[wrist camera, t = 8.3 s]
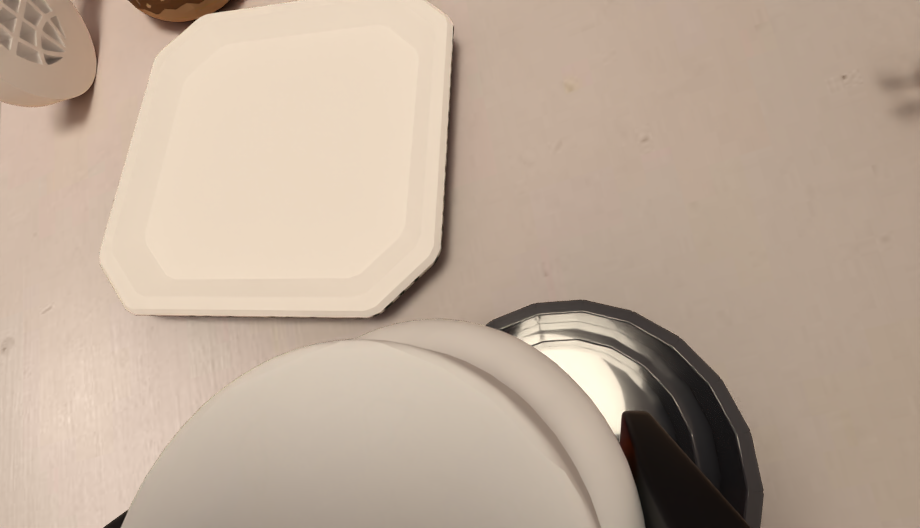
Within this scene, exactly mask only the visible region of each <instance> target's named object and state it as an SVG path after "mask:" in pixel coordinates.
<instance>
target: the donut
mask: <svg viewBox="0 0 920 528" xmlns="http://www.w3.org/2000/svg"><path fill="white" fill-rule="evenodd" d="M129 1H130V2H131V3H132V4H133V5H134V6H135V7H136V8H137V9H139V10H140V11H142V12H143V13H145V14H147V15H149V16H151V17H154V18H157V19H160V20H163V21H172V22H184V21H190V20H195V19H198V18H200V17H202V16H204V15H206V14H211V13H213V12H214V11H216V10H218V9H220V8H221V7H223V6H224V5H225V4H226V3H227V2H229V1H230V0H129Z"/></svg>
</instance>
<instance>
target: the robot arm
mask: <svg viewBox="0 0 920 528" xmlns="http://www.w3.org/2000/svg"><path fill="white" fill-rule="evenodd" d="M620 446H621V448H622V451H623V453H624V455H625V457H626V459H627V462H628V464H629V466H630V469H631V472H632V475H633V478H634V481H635V484H636V487H637V491H638V494H639V498H640V502H641V506H642V511H643V516H644V522H645V528H751V527H750V526H749V525H748V524H747V522H746V521H745V520H744V519H743V518H742V517H741V516H740V515H739V513H738V512H737V511H736V510H735V509H734V508H733V507H732V506H731V504H730V503H729V502H728V501H727V500H726V499H725V498H724V497H723V495H722V494H721V493H720V492H719V491H718V490H717V489H716V488H715V486H714V485H713V484H712V483H711V482H710V481H709V480H708V479H707V477H706V476H705V475H704V474H703V473H702V472H701V471H700V470H699V468H698V467H697V466H696V465H695V464H694V463H693V462H692V460H691V459H690V458H689V457H688V456H687V455H686V454H685V453H684V451H683V450H682V449H681V448H680V447H679V446H678V445H677V444H676V442H675V441H674V440H673V439H672V438H671V437H670V436H669V435H668V433H667V432H666V431H665V430H664V429H663V428H662V427H661V426H660V424H659V423H658V422H657V421H656V420H655V419H654V418H653V417H652V415H651V414H649V413H648V412H646V411H624V412H623V413H622V416H621V431H620ZM128 510H129V509H128ZM128 510H127V511H126V512H124V513H123V514H121V515H120V516H119V517H117V518H116V519H115V520H113V521H112V522H110V523H109V524H108V525H106V526H105V527H104V528H121V526H122V524H123V521H124V519H125V517H126V514H127V512H128Z"/></svg>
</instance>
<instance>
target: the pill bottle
mask: <svg viewBox="0 0 920 528" xmlns="http://www.w3.org/2000/svg"><path fill="white" fill-rule="evenodd" d="M121 528H645V522H644V516H643V511H642V506H641V502H640V498H639V494H638V491H637V487H636V484H635V481H634V478H633V475H632V472H631V469H630V466H629V464H628V462H627V459H626V457H625V455H624V453H623V451H622V448H621V446H620V444H619V442H618V440H617V438H616V436H615V434H614V433H613V431H612V429H611V428H610V426H609V424H608V423H607V421H606V419H605V418H604V416H603V415H602V413H601V412H600V411H599V409H598V408H597V406H596V405H595V404H594V402H593V401H592V399H591V398H590V397H589V396H588V395H587V394H586V393H585V391H584V390H583V389H582V388H581V387H580V386H579V385H578V384H577V383H576V382H575V381H574V380H573V379H572V378H571V377H570V376H569V375H568V374H567V373H566V372H565V371H564V370H563V369H562V368H561V367H560V366H559V365H557V364H556V363H555V362H554V361H553V360H551V359H550V358H549V357H548V356H546V355H545V354H543V353H542V352H540V351H539V350H537V349H536V348H534V347H533V346H531V345H529V344H527V343H526V342H524V341H522V340H520V339H519V338H517V337H514V336H512V335H510V334H508V333H505V332H503V331H500V330H497V329H494V328H491V327H488V326H484V325H480V324H476V323H471V322H467V321H460V320H451V319H425V320H414V321H407V322H402V323H397V324H393V325H390V326H386V327H382V328H379V329H377V330H374V331H371V332H369V333H366V334H364V335H362V336H360V337H358V338H355V339H347V340H338V341H329V342H323V343H318V344H313V345H309V346H306V347H302V348H298V349H295V350H292V351H290V352H287V353H284V354H281V355H279V356H276V357H274V358H272V359H270V360H268V361H266V362H264V363H262V364H260V365H258V366H257V367H255V368H253V369H251V370H250V371H248V372H246V373H244V374H243V375H241V376H240V377H238V378H237V379H235V380H234V381H233V382H231V383H230V384H228V385H227V386H225V387H224V388H223V389H222V390H220V391H219V392H218V393H217V394H215V395H214V396H213V397H211V398H210V399H209V400H208V401H207V402H206V403H205V404H204V405H202V406H201V407H200V408H199V409H198V411H197V412H196V413H195V414H194V415H193V416H192V417H191V418H190V419H189V420H188V421H187V422H186V423H185V424H184V425H183V426H182V427H181V428H180V430H179V431H178V432H177V433H176V435H175V436H174V437H173V438H172V440H171V441H170V442H169V443H168V445H167V446H166V447H165V448H164V450H163V451H162V453H161V454H160V456H159V457H158V459H157V460H156V462H155V463H154V465H153V466H152V468H151V470H150V471H149V473H148V474H147V476H146V477H145V479H144V481H143V483H142V484H141V486H140V488H139V490H138V492H137V494H136V496H135V498H134V499H133V501H132V503H131V505H130V507H129V510H128V512H127V514H126V517H125V519H124V521H123V524H122V526H121Z"/></svg>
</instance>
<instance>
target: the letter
mask: <svg viewBox="0 0 920 528" xmlns="http://www.w3.org/2000/svg"><path fill="white" fill-rule="evenodd" d="M96 63H97V61H96V55H95V48H94V45H93V42H92V39H91V37H90V34H89V31H88V29H87V27H86V25H85V23H84V21H83V19H82V18H81V16H80V14H79V12H78V11H77V9H76V8H75V6H74V5H73V4H72V2H71V1H70V0H0V101H1V102H4V103H7V104H11V105H16V106H22V107H43V106H48V105H51V104H54V103H58V102H61V101H64V100H68V99H71V98H74V97H77V96H80V95H81V94H83V93H84V92H86V91H87V90H88V89H89V88H90V86H91V85H92V83H93V81H94V78H95V75H96Z"/></svg>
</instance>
